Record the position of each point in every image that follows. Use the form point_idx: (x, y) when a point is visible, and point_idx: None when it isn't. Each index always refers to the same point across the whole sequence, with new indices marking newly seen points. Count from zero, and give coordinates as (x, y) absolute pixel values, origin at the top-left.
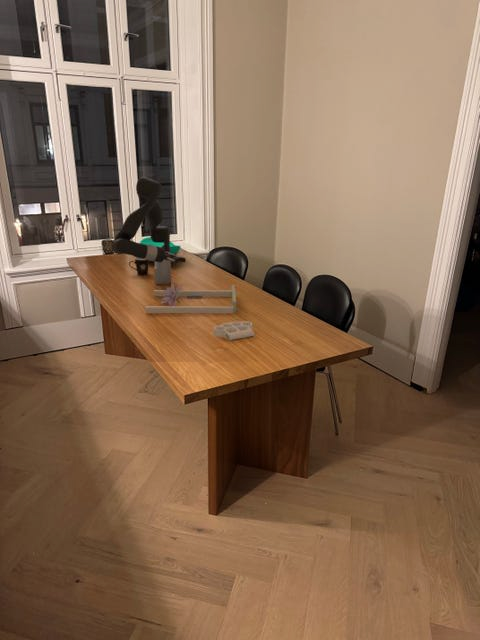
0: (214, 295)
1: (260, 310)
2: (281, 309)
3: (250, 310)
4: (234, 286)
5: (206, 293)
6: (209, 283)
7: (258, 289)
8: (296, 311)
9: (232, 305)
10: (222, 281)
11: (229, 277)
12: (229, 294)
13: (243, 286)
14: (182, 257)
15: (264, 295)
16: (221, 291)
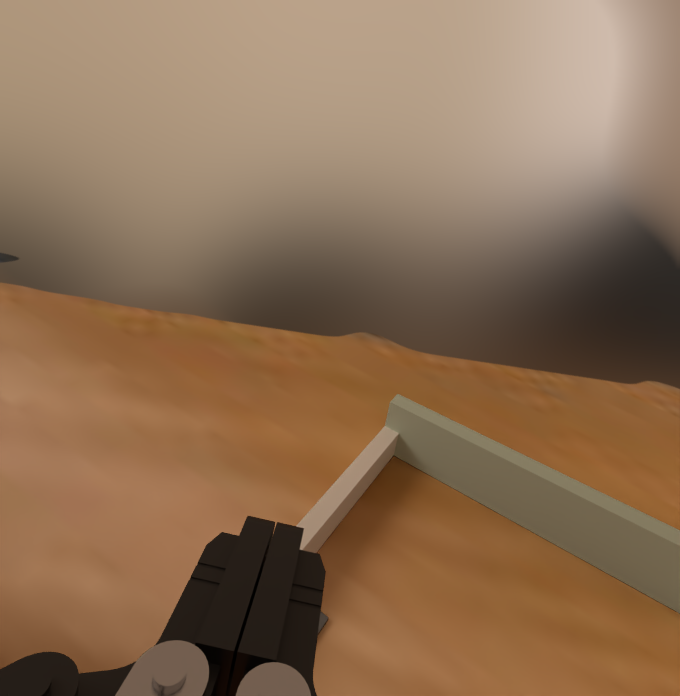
0: (341, 518)
1: (656, 481)
2: (645, 417)
3: (654, 516)
4: (421, 405)
5: (309, 550)
6: (114, 407)
7: (361, 338)
8: (674, 397)
9: (582, 552)
10: (152, 357)
11: (136, 315)
12: (389, 454)
13: (288, 347)
14: (259, 563)
15: (444, 363)
16: (368, 470)
